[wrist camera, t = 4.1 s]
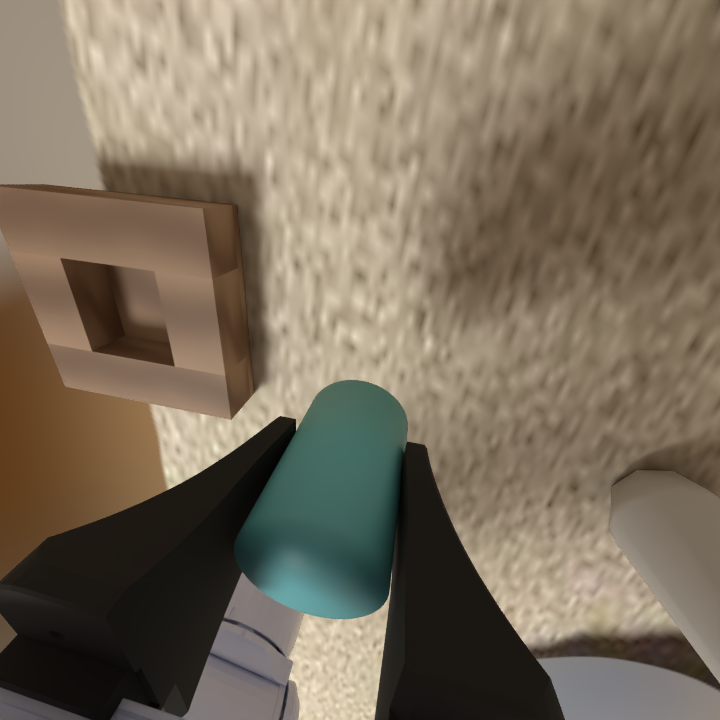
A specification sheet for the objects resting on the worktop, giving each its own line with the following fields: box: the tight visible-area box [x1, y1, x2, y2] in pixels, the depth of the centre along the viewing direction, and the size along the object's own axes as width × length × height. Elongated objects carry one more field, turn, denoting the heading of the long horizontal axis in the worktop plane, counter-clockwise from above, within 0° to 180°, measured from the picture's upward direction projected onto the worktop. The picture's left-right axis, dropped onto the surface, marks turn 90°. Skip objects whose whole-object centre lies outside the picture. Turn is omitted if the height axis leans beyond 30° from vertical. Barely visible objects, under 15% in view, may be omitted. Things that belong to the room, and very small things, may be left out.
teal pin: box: [234, 380, 408, 619], centre depth 11 cm, size 4×4×6 cm
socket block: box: [0, 184, 254, 420], centre depth 20 cm, size 12×12×3 cm
